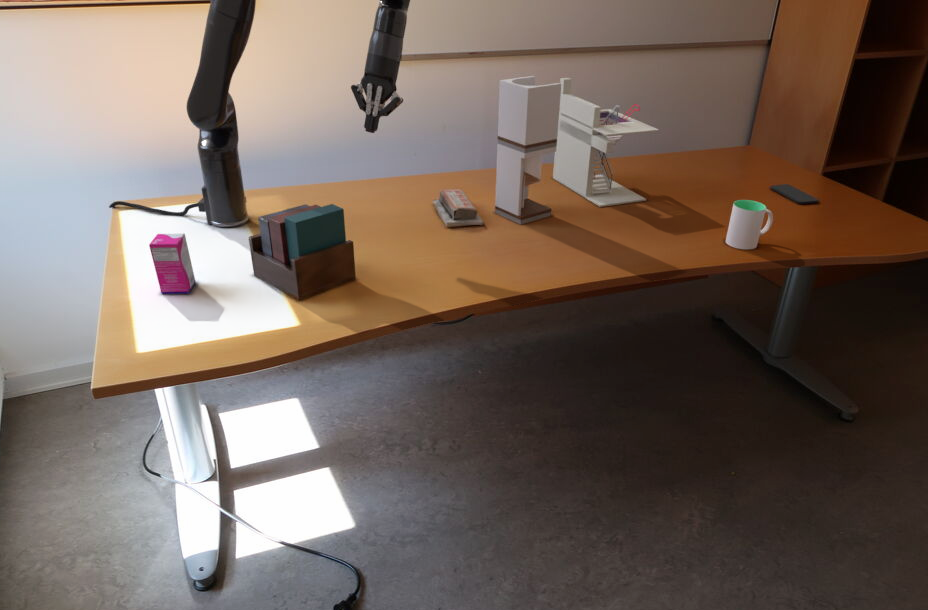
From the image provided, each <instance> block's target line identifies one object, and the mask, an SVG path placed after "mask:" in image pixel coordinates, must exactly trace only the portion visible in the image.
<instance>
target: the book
mask: <svg viewBox="0 0 928 610" xmlns="http://www.w3.org/2000/svg"><path fill="white" fill-rule="evenodd" d="M284 220H285V229H286V237H287V245H288V254H289V262H290V267H291V268H292V263H291V259H293V258H296V257H299V256H302V255H305V254H308V253H311V252H314V251H317V250H321V249H324V248H327V247H330V246H333V245H336V244H339V243H342V242H345V241H347V237H346V236H347V235H346V223H345V222H346V221H345V210H344V208H343V207H340V206H338V205H336V204H333V203H330V204H327V205H323V206H320V207H319V208H316V209H312V210H308V211H305V212H301V213H298V214H294V215H291V216H287V217H284Z"/></svg>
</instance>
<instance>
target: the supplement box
mask: <svg viewBox="0 0 928 610" xmlns="http://www.w3.org/2000/svg"><path fill="white" fill-rule="evenodd" d="M148 246H149V250H150V254H151V258H152V262H153V266H154V270H155V273H156V277H157V281H158V285H159V290H160V293H161V294H162V295H189V294H190V293H191V292H192V290H193V287H194V286H195V285H196V283H197V281H196V278H195V274H194V273H195V272H194V268H193V264H192V260H191V255H190V251H189V247H188V242H187V237H186V233H182V232H181V233H156V235H155V236H154V237H153V239H152V240H151V241H150V243H149V244H148Z"/></svg>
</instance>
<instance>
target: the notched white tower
mask: <svg viewBox="0 0 928 610" xmlns="http://www.w3.org/2000/svg"><path fill="white" fill-rule="evenodd" d="M560 97H561V83H560V82H557V83H556V82H555V83H549V84H542V85H536V76H534V75H530V76H522V77H514V78H506V79H501V80H500V79H499V90H498V116H497V118H498V119H497V122H498V123H497V148H496V171H495V172H496V173H495V175H496V176H495V177H496V179H495V200H494V201H495V202H494V213H495V214H497V215H499V216H501V217H503V218H505V219H507V220H510V221H511V222H514V223H517V224H519V225H524V224H527V223H531V222H534V221H538V220H541V219H545V218H548V217H552V211H553V210H552V208H551V207H549V206H546V205H544V204H542V203H540V202H537V201H535V200H532V199H530V198H529V186H530V185H534V184H536V183H539V182H540V181H541V178H542V177H541V176H542V163H543V161H542V160H543V155H547V154H548V155H549V154H552V153H555V152H556V148H557V135H558V122H559V110H560Z"/></svg>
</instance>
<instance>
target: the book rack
mask: <svg viewBox="0 0 928 610" xmlns="http://www.w3.org/2000/svg"><path fill="white" fill-rule="evenodd" d="M319 207H321V206H320V205H318V204H313V205H308V204H306V203H305V204H301V205H298V206H294V207H290V208H286V209H283V210H280V211H279V210H278V211H277V212H276V211H275V212H271V213H268V214H265V215H261V216H258V217H257V219H258V226H259V227H258V228H259V233H257V234H253V235H250V236H248V244H249V251H250V258H251V265H252V271H253V276H254V277H256V278H257V279H260V280H261V281H263V282H265V283H267V284H269V286H272V287H273V288H275V289H277V290H279V291H281V292H283V293H284V294H286V295H287V296H289V297H290V298H293V299H295V300H297V301H299V302H301V301H303V300H305V299H308V298H311V297H313V296H316V295H319V294H321V293H324V292H326V291H327V292H328V291H329V290H332V289H335V288H337V287H340V286H343V285H346V284H348V283H351V282H354V281H356V279H357V278H356V277H357V276H356V263H355V247H354V241H353V240H351V239H348V240H346V241H345V242H342V243H339V244H336V245H333V246H330V247H327V248H324V249H321V250H317V251H314V252H311V253H308V254H305V255H302V256H299V257H296V258H293V259H291V263H292V268H291V267H290V262H289V254H288V245H287V237H286V229H285V220H284V217H287V216H291V215H294V214H298V213H301V212H305V211H308V210H312V209H316V208H319Z"/></svg>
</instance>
